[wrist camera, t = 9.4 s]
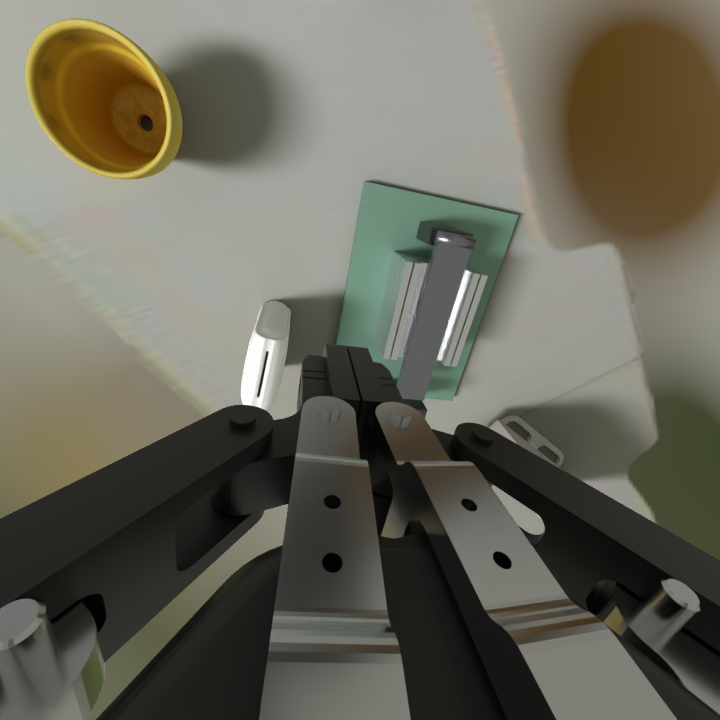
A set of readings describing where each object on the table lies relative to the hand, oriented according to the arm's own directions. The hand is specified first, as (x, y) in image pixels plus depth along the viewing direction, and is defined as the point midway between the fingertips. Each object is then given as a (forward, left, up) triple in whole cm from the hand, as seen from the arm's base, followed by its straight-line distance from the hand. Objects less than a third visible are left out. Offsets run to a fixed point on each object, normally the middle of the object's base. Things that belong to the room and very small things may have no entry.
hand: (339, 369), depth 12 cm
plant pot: (-8, -18, -35) cm, 40 cm away
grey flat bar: (+7, +15, -29) cm, 33 cm away
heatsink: (+8, +15, -34) cm, 38 cm away
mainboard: (+7, +15, -35) cm, 39 cm away
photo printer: (+14, -4, -35) cm, 38 cm away
